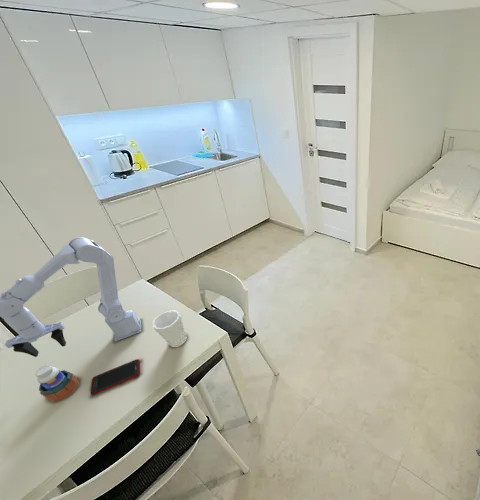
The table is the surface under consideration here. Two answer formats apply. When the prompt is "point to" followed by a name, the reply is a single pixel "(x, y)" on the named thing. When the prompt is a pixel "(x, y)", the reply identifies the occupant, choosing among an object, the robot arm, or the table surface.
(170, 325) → the foam cup
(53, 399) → the orange and teal bowl
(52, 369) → the pill bottle
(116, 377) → the cell phone
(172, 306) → the table surface
